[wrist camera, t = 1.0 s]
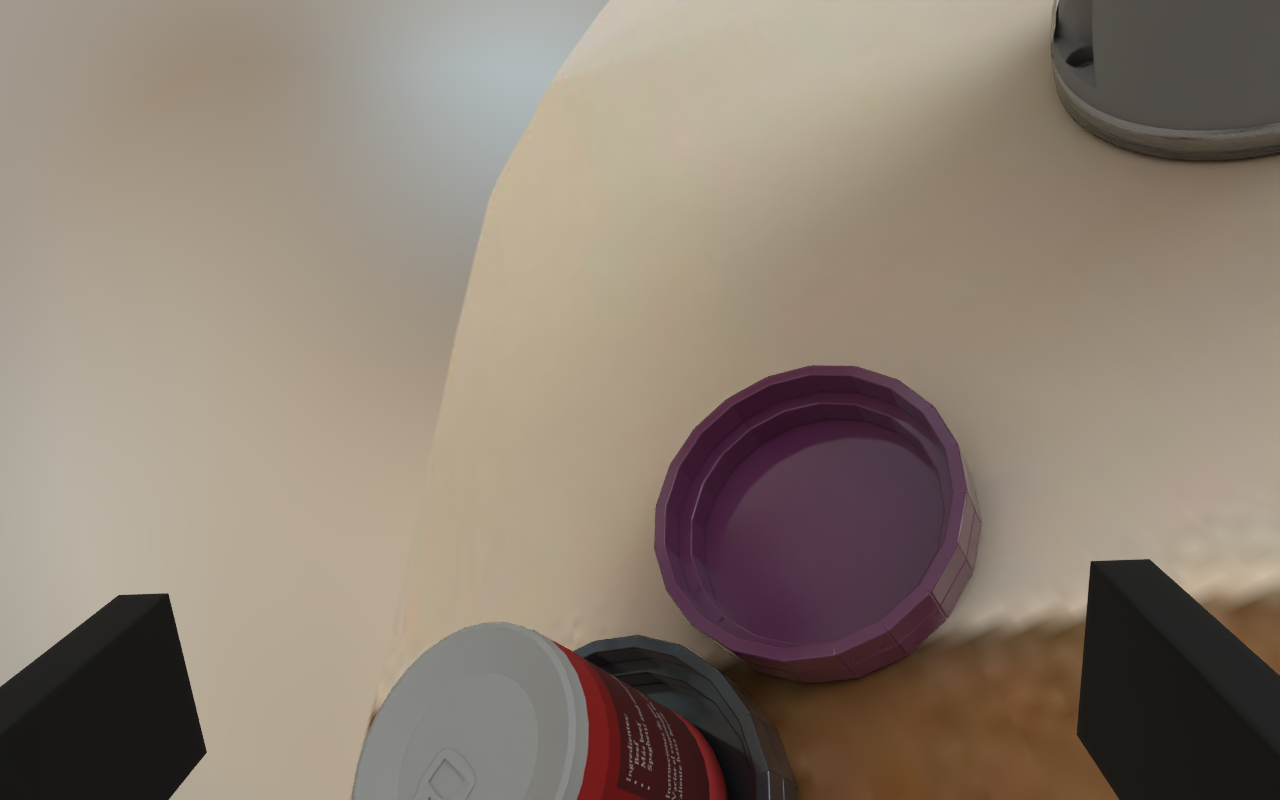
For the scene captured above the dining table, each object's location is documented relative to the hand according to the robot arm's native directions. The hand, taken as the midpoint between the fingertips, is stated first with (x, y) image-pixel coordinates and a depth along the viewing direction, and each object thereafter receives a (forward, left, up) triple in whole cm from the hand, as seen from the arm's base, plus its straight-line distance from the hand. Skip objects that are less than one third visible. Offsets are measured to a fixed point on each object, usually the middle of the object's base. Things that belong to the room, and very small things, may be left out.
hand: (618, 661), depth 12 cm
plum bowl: (-8, -9, -21) cm, 24 cm away
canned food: (+5, -9, -21) cm, 23 cm away
